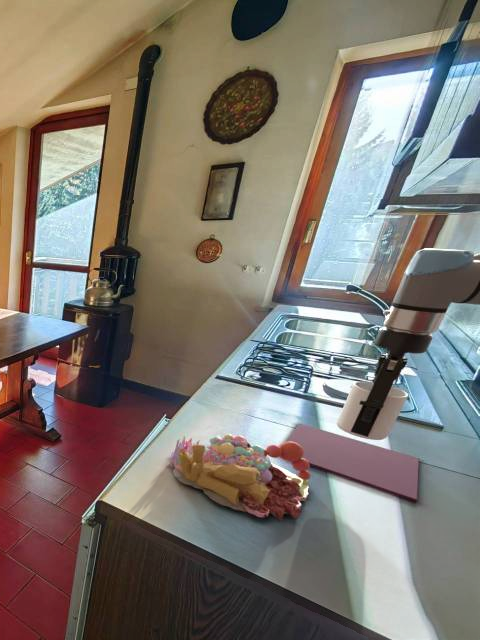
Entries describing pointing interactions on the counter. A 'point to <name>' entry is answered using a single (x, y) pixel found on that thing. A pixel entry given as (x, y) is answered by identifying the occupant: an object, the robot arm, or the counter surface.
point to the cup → (385, 416)
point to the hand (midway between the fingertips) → (362, 424)
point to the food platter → (244, 474)
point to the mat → (359, 461)
